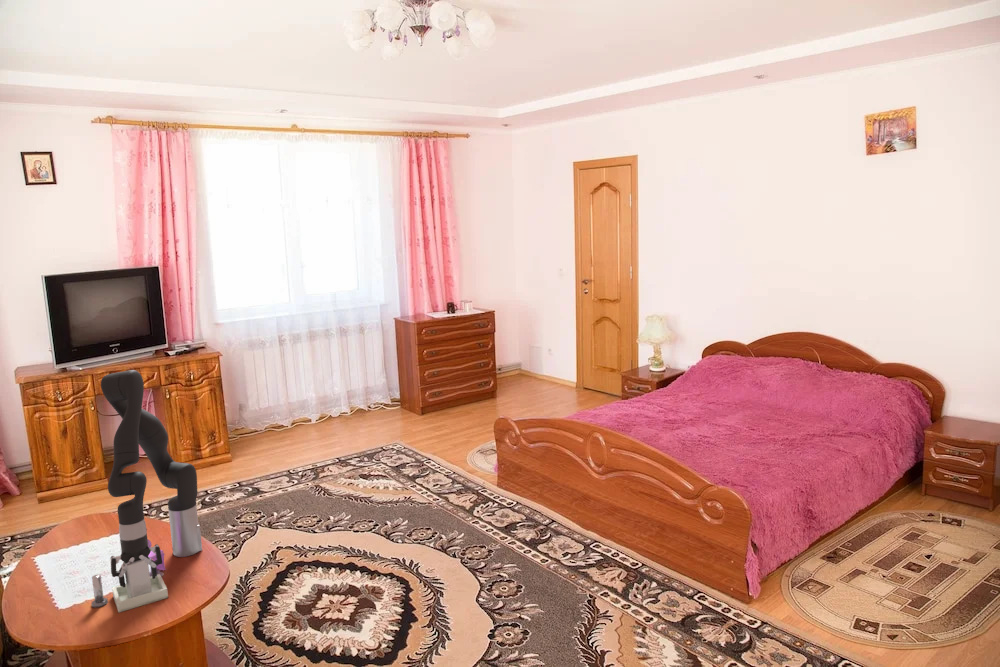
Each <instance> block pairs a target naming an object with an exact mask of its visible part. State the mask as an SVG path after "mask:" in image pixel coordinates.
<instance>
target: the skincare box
mask: <svg viewBox="0 0 1000 667" xmlns="http://www.w3.org/2000/svg"><path fill="white" fill-rule="evenodd" d="M145 560H146V559H145ZM145 560H139V561H135V562H132V563H131V564H128V565H127V571H126V572H125V573H124V578H125V584H126V585H127V592H128V596H129V597H130V598H133V597H136V596H140V595H143V594H147V593H150V592H152V590H151V582H150V577H151V574H150V567H149V566H150V565H148V564H147V563H146V562H145ZM123 563H124V566H125V565H126V563H125V562H123V561H122V564H123Z"/></svg>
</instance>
